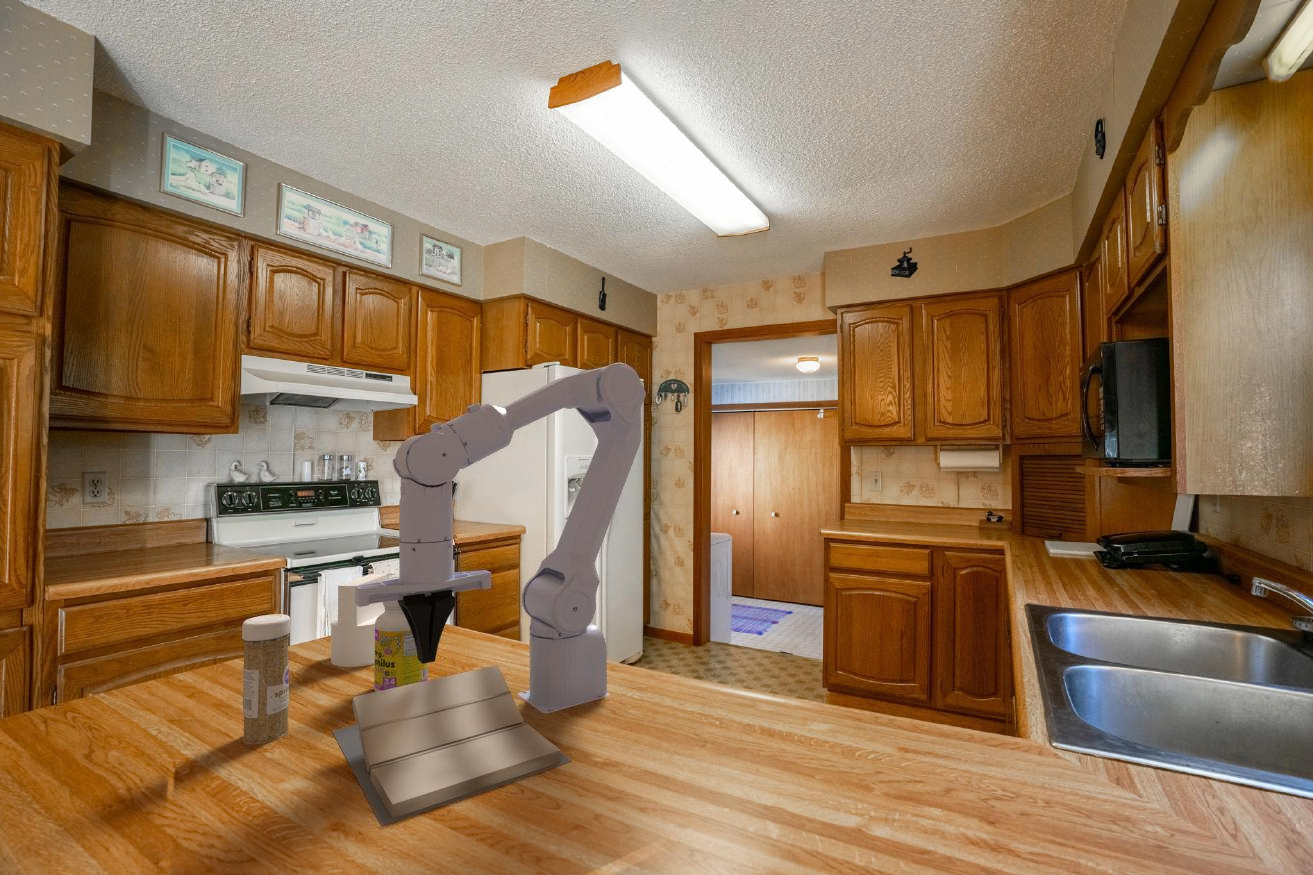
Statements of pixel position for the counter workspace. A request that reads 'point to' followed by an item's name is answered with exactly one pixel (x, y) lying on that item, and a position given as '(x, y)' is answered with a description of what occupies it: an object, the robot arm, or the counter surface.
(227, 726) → the counter surface
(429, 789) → the plank
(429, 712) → the loose plank
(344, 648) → the base with upright slab
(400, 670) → the supplement bottle
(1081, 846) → the counter surface
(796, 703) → the counter surface
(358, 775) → the plate
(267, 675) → the sprinkles bottle
